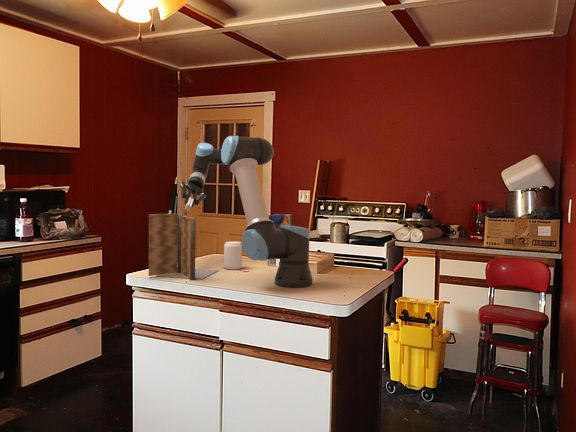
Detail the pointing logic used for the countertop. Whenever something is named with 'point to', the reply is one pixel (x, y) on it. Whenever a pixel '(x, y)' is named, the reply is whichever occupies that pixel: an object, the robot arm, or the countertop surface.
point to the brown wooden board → (162, 244)
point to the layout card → (198, 274)
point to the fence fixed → (186, 246)
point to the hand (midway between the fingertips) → (187, 207)
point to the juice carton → (278, 221)
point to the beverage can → (232, 255)
